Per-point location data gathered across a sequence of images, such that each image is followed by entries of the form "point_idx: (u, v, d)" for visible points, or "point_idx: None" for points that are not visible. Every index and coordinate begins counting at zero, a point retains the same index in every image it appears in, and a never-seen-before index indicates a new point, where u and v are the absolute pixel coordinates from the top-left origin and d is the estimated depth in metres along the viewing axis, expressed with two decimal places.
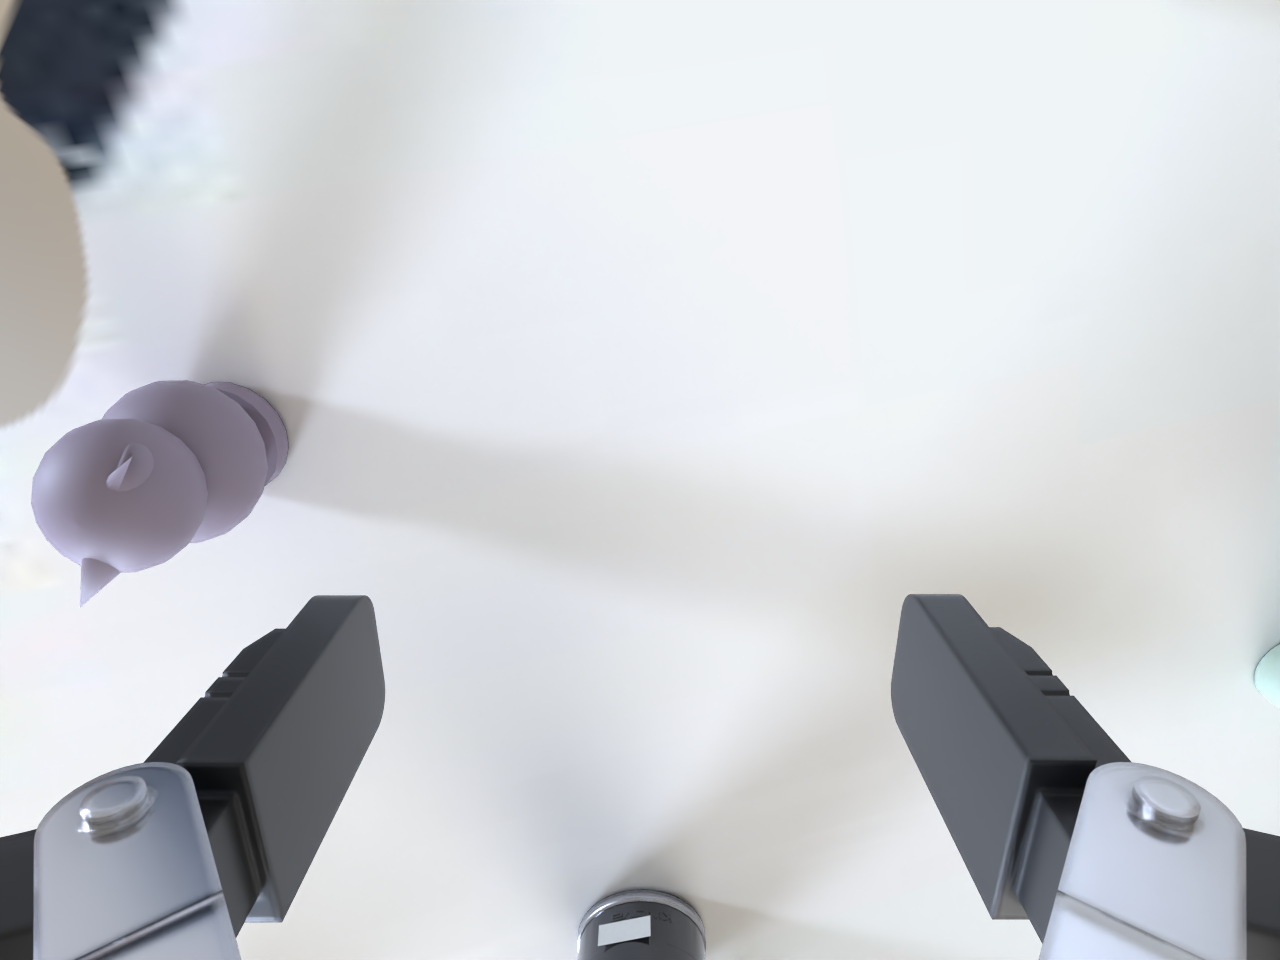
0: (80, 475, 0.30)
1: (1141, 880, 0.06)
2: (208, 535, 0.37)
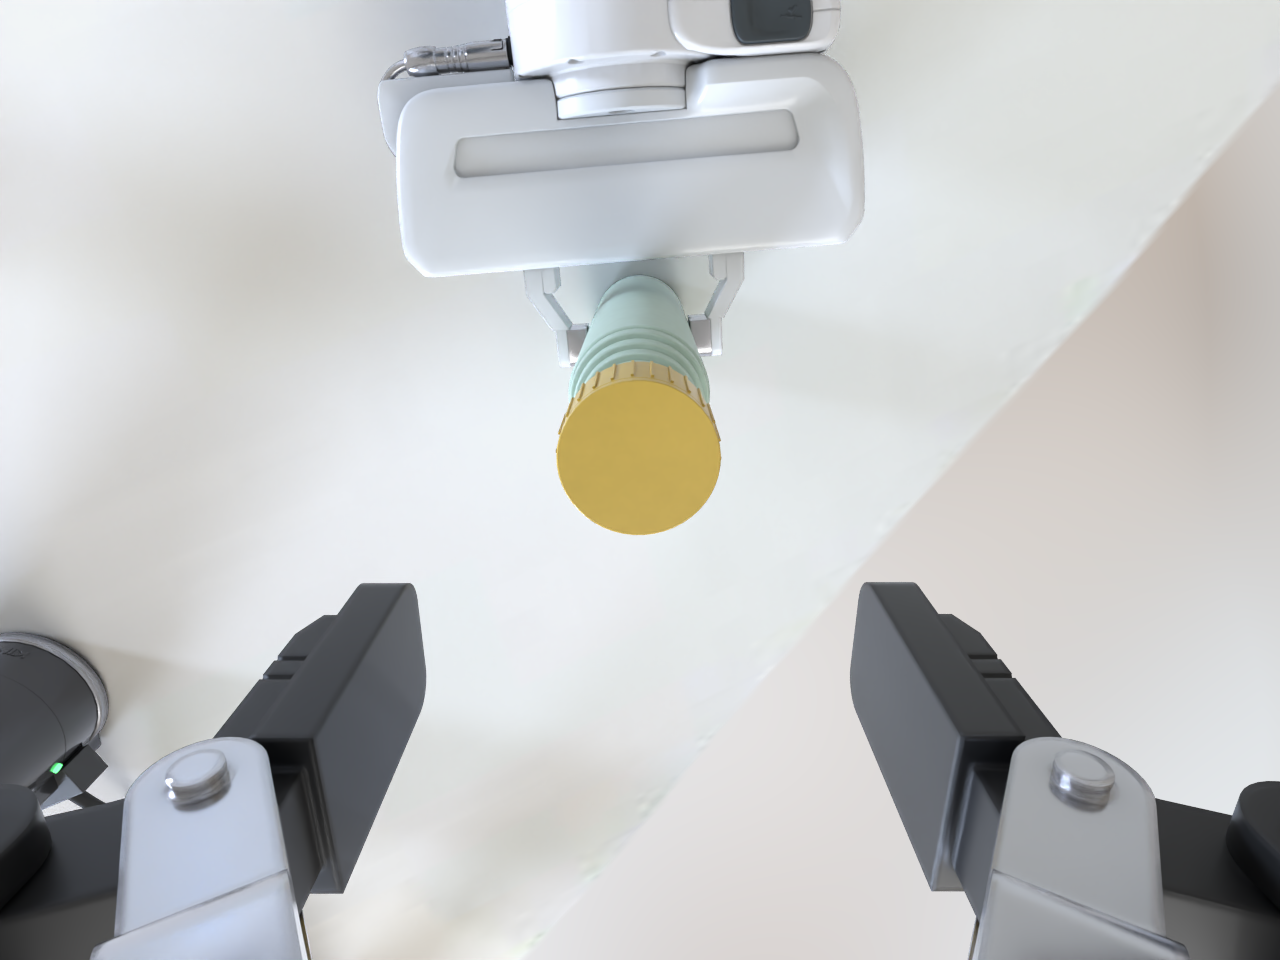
0: None
1: (1066, 851, 0.06)
2: None
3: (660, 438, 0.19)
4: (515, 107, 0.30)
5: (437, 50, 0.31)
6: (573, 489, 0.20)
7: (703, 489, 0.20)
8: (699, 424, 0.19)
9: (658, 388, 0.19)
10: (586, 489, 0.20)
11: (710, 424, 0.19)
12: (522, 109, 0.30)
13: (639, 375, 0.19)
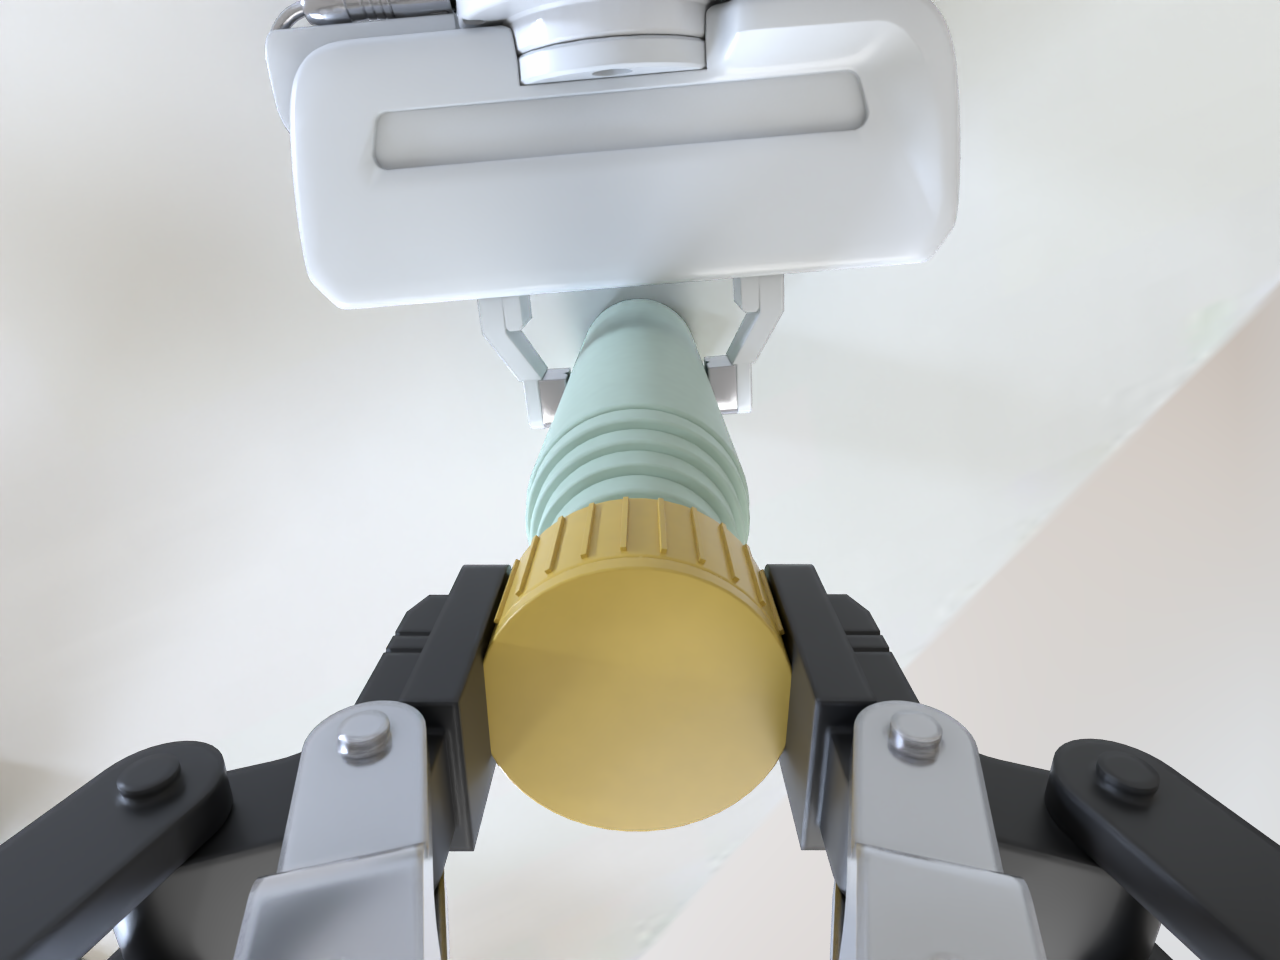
0: None
1: (912, 809, 0.07)
2: None
3: (679, 671, 0.10)
4: (458, 66, 0.21)
5: None
6: (511, 757, 0.10)
7: (760, 758, 0.10)
8: (756, 647, 0.10)
9: (675, 582, 0.09)
10: (536, 757, 0.10)
11: (778, 647, 0.10)
12: (468, 70, 0.21)
13: (637, 548, 0.10)
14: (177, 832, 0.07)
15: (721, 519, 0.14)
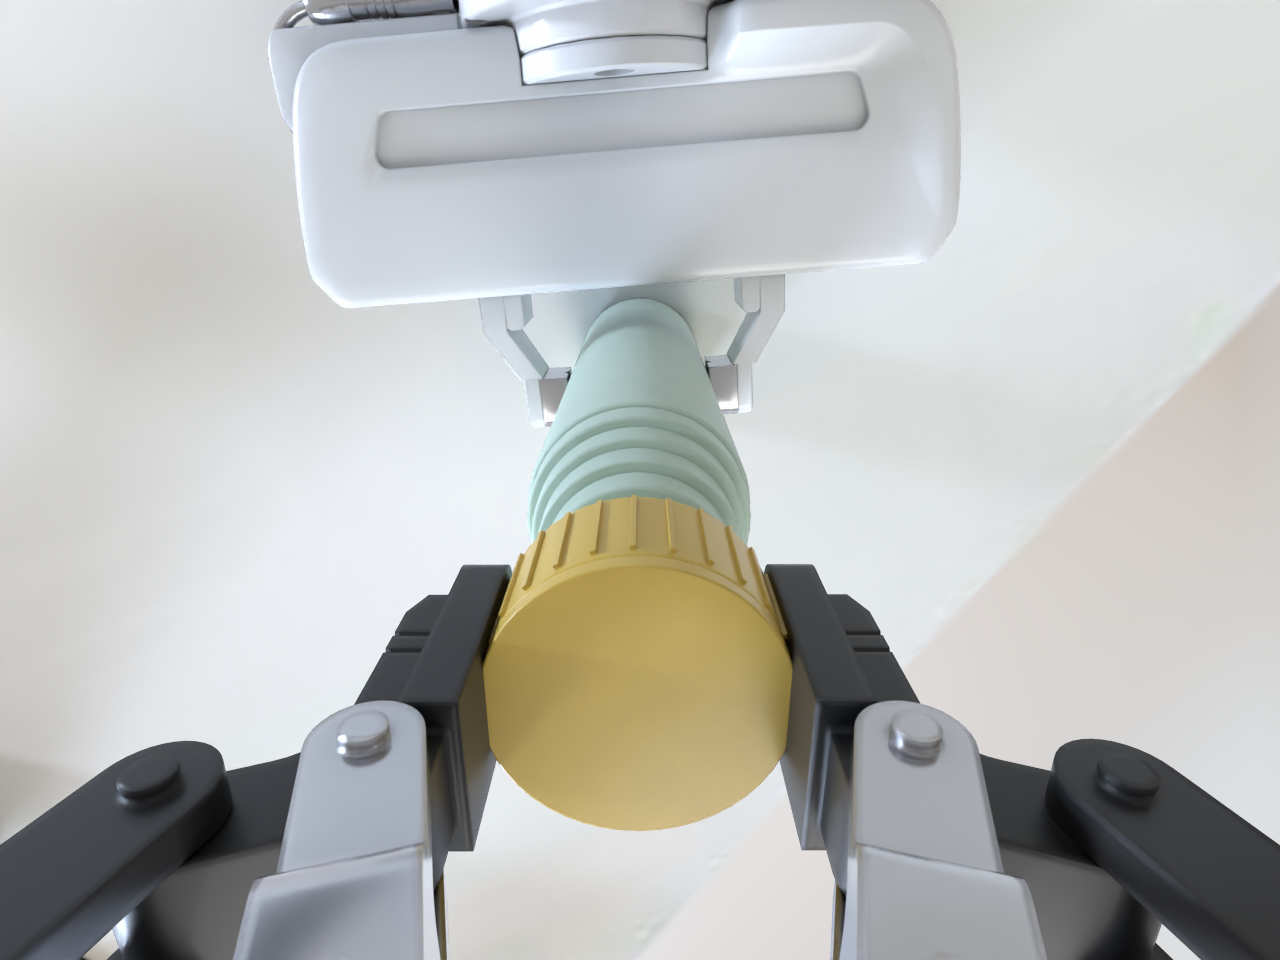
0: None
1: (913, 808, 0.07)
2: None
3: (588, 676, 0.10)
4: (461, 66, 0.21)
5: None
6: (704, 805, 0.10)
7: (691, 591, 0.09)
8: (550, 613, 0.09)
9: (490, 685, 0.10)
10: (702, 786, 0.10)
11: (548, 592, 0.09)
12: (471, 70, 0.21)
13: None
14: (176, 832, 0.07)
15: (722, 516, 0.14)
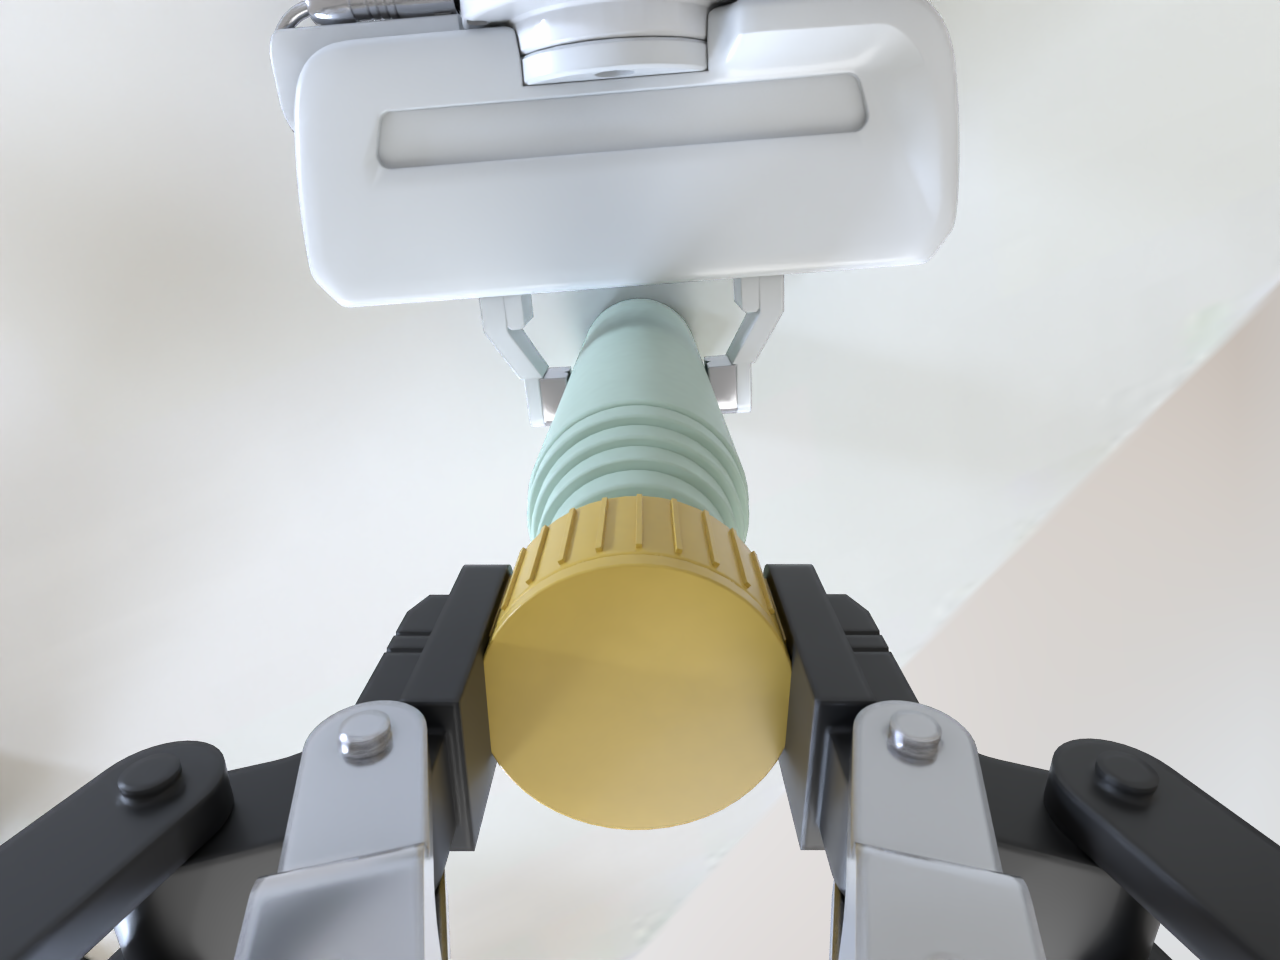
0: None
1: (911, 808, 0.07)
2: None
3: (602, 749, 0.10)
4: (462, 66, 0.21)
5: None
6: (759, 640, 0.09)
7: (497, 673, 0.10)
8: (536, 780, 0.10)
9: (622, 820, 0.11)
10: (732, 644, 0.10)
11: (516, 781, 0.10)
12: (472, 70, 0.21)
13: None
14: (178, 831, 0.07)
15: (720, 514, 0.14)
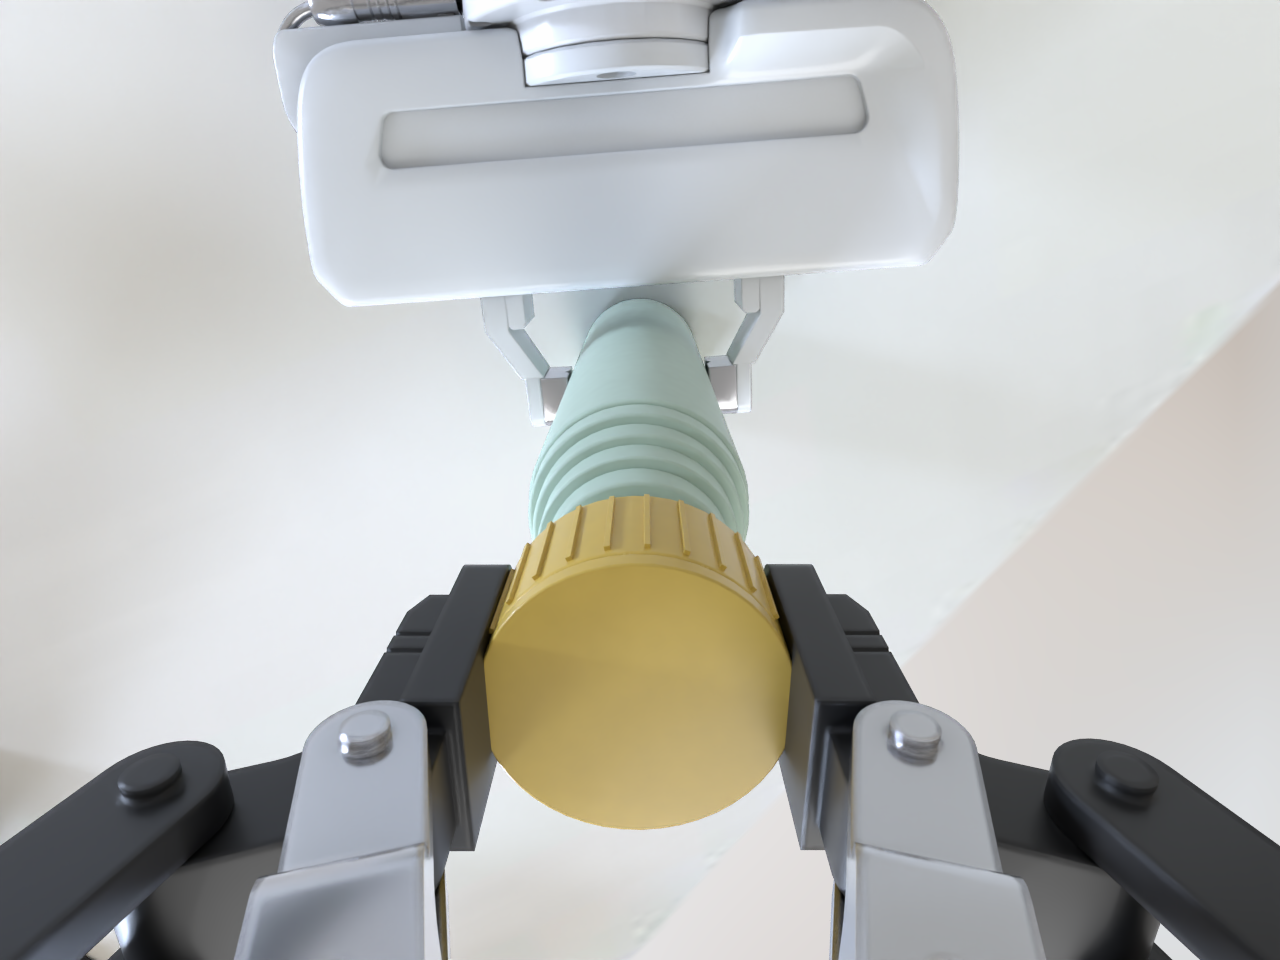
0: None
1: (912, 808, 0.07)
2: None
3: (690, 733, 0.10)
4: (464, 68, 0.21)
5: None
6: (544, 609, 0.09)
7: (609, 814, 0.11)
8: (731, 785, 0.10)
9: (785, 710, 0.10)
10: (552, 631, 0.09)
11: (734, 799, 0.10)
12: (474, 71, 0.21)
13: None
14: (177, 832, 0.07)
15: (721, 512, 0.14)
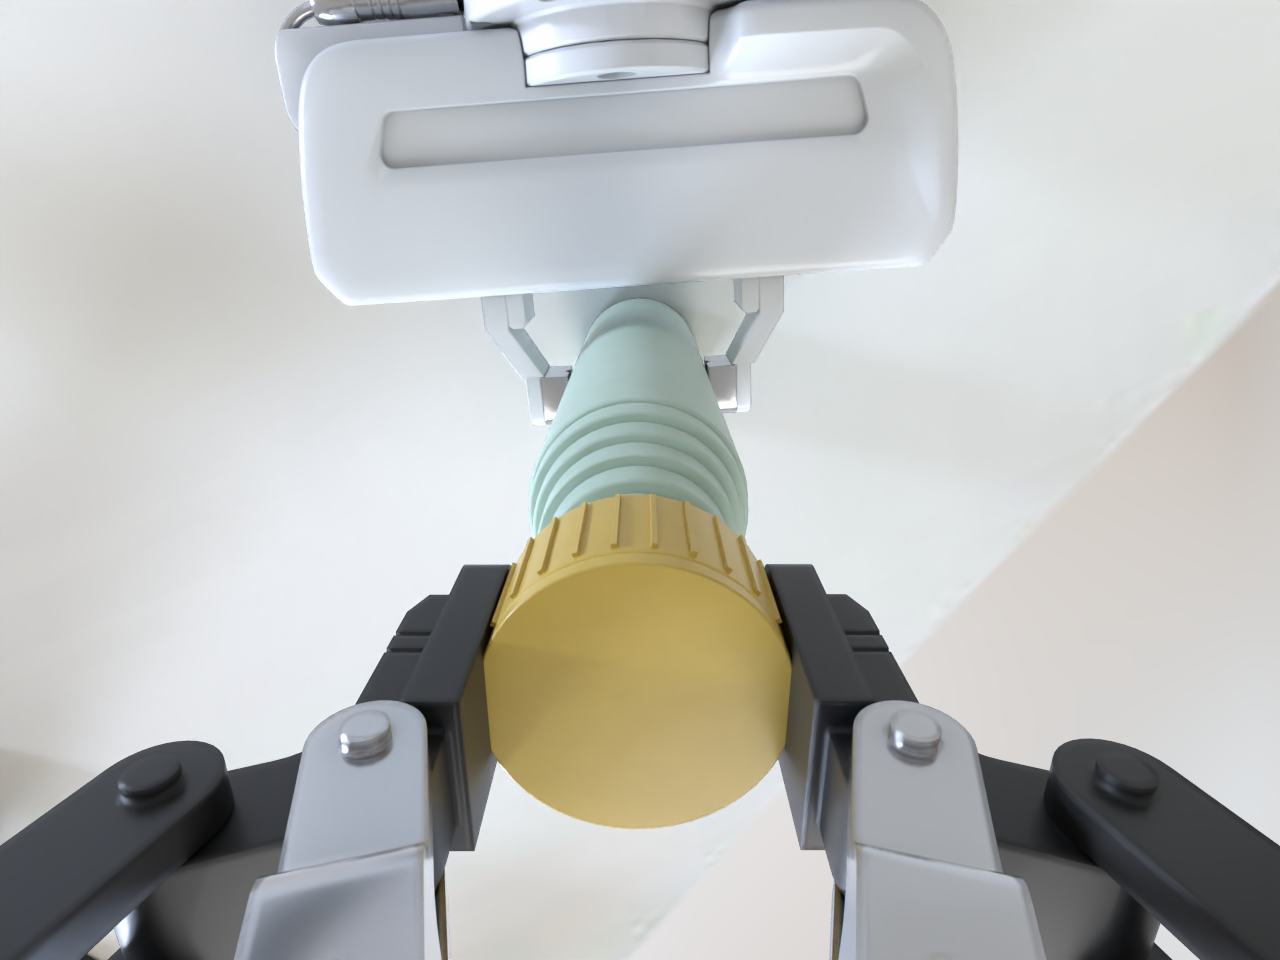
0: None
1: (911, 808, 0.07)
2: None
3: (663, 658, 0.10)
4: (465, 67, 0.21)
5: None
6: (536, 782, 0.10)
7: (775, 722, 0.10)
8: (730, 615, 0.09)
9: (629, 572, 0.09)
10: (559, 775, 0.10)
11: (752, 608, 0.09)
12: (475, 71, 0.21)
13: (589, 549, 0.10)
14: (178, 832, 0.07)
15: (720, 509, 0.14)
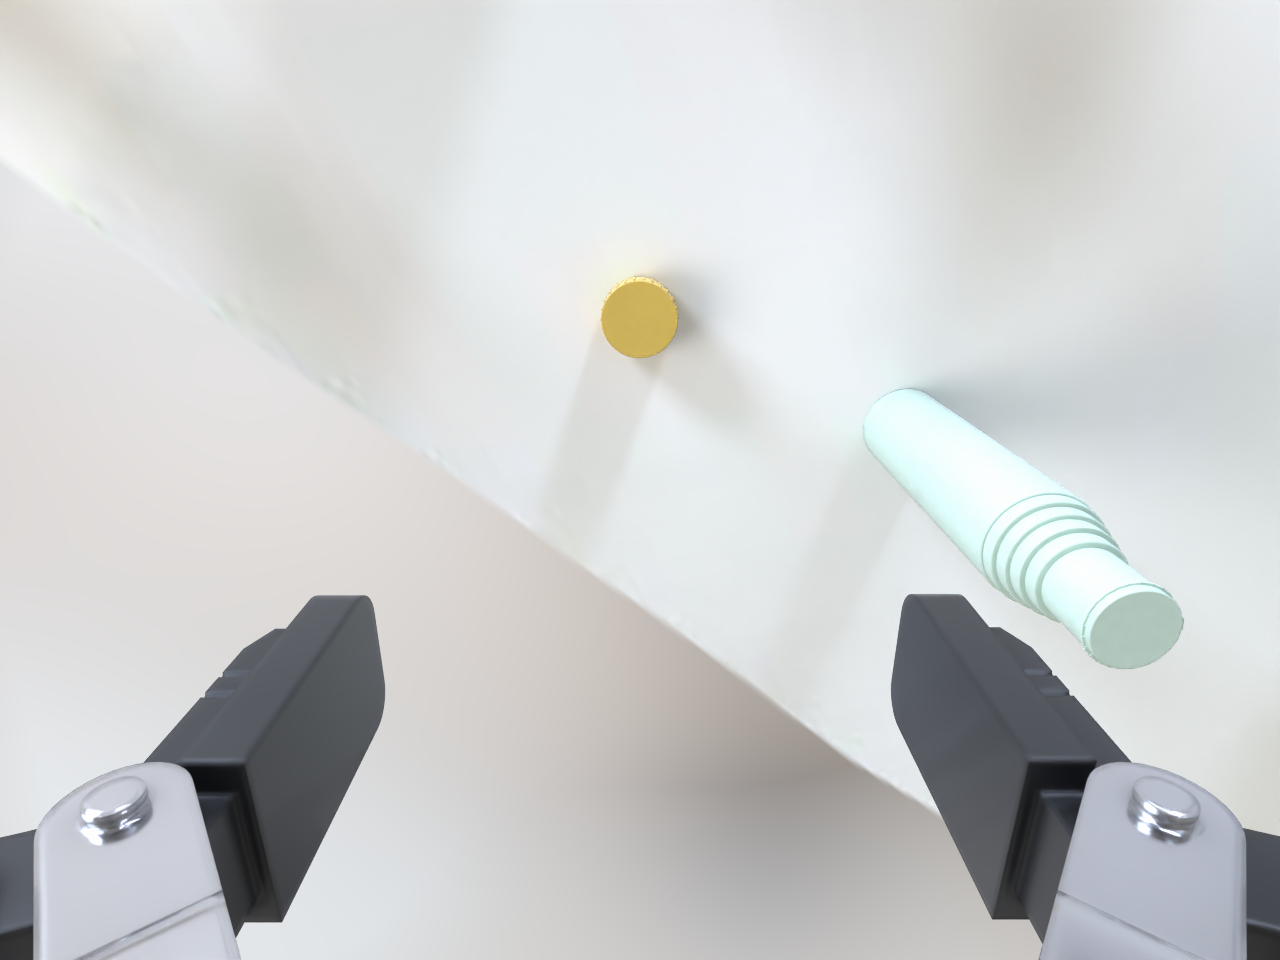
0: None
1: (1141, 880, 0.06)
2: None
3: (645, 306, 0.41)
4: None
5: None
6: (614, 343, 0.42)
7: (672, 324, 0.42)
8: (660, 294, 0.41)
9: (637, 283, 0.41)
10: (620, 341, 0.42)
11: (665, 293, 0.41)
12: None
13: (628, 281, 0.41)
14: None
15: None
